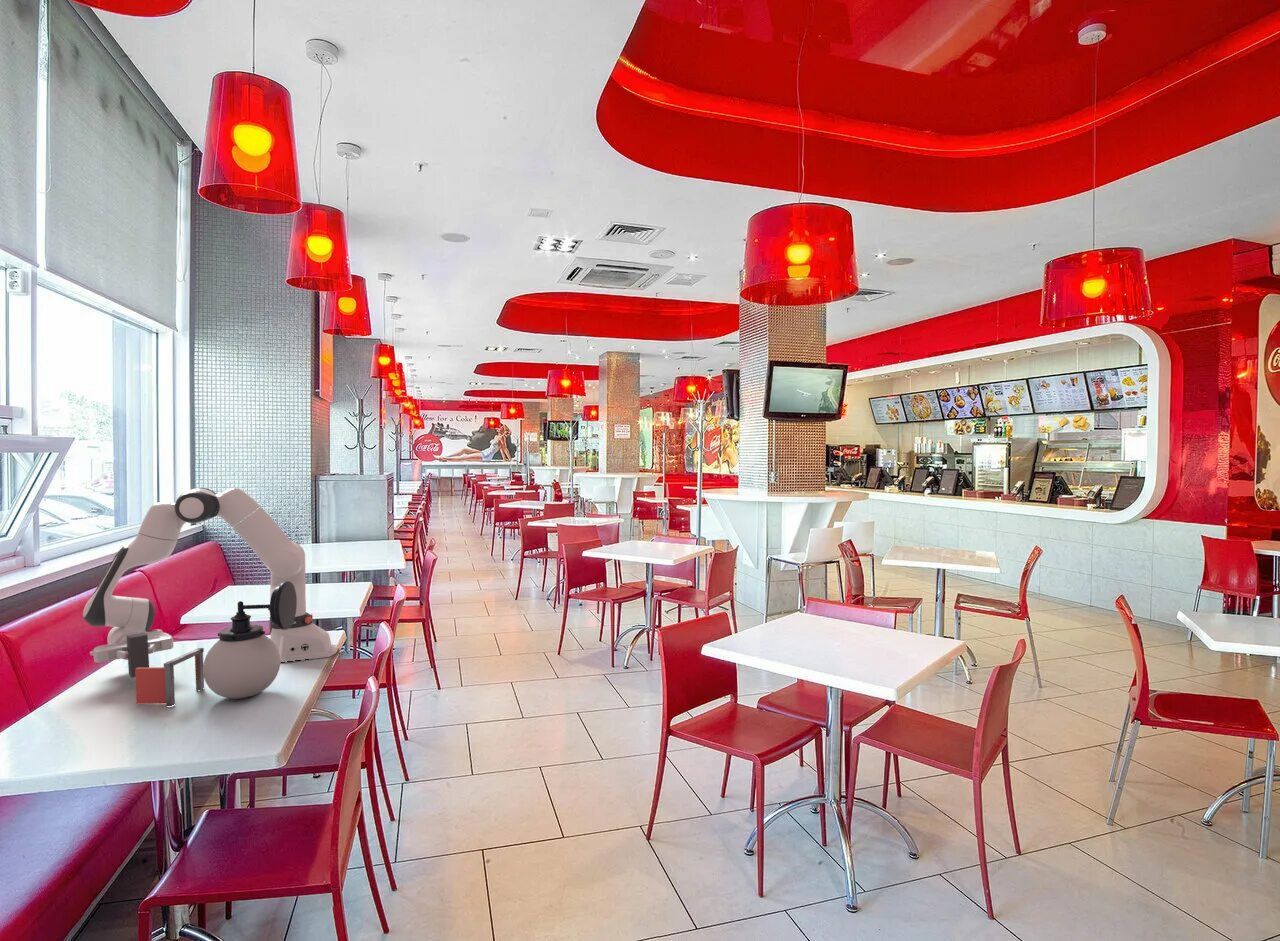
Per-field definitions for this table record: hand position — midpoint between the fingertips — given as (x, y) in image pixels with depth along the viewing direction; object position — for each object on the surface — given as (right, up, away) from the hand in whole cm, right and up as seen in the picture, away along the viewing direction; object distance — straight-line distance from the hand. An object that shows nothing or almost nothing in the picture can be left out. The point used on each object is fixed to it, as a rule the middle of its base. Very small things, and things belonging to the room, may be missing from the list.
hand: (138, 653), depth 218 cm
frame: (+19, -11, -8) cm, 24 cm away
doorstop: (0, -7, +1) cm, 7 cm away
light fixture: (+37, -11, -7) cm, 40 cm away
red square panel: (+14, -11, -13) cm, 22 cm away
